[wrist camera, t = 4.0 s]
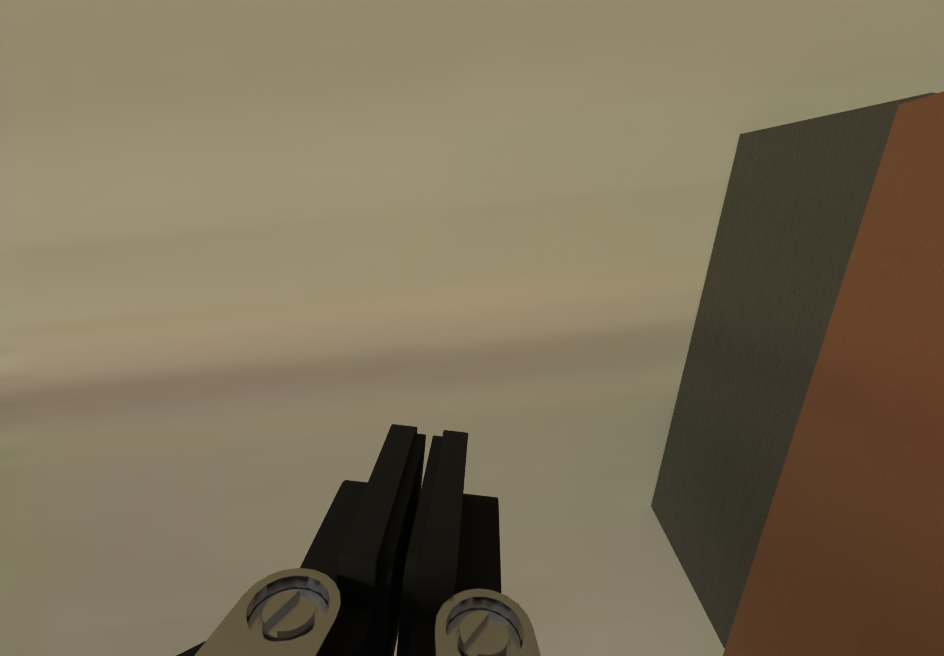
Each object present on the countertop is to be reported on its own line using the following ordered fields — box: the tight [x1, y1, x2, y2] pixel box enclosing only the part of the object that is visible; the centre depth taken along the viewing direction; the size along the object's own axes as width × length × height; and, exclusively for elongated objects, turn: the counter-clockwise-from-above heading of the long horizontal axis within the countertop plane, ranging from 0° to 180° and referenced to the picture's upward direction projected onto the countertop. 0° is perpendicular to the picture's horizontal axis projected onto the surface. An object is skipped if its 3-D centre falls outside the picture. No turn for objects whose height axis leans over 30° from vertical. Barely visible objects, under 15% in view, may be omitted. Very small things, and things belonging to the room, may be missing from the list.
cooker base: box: [651, 93, 938, 649], centre depth 20 cm, size 25×17×10 cm
